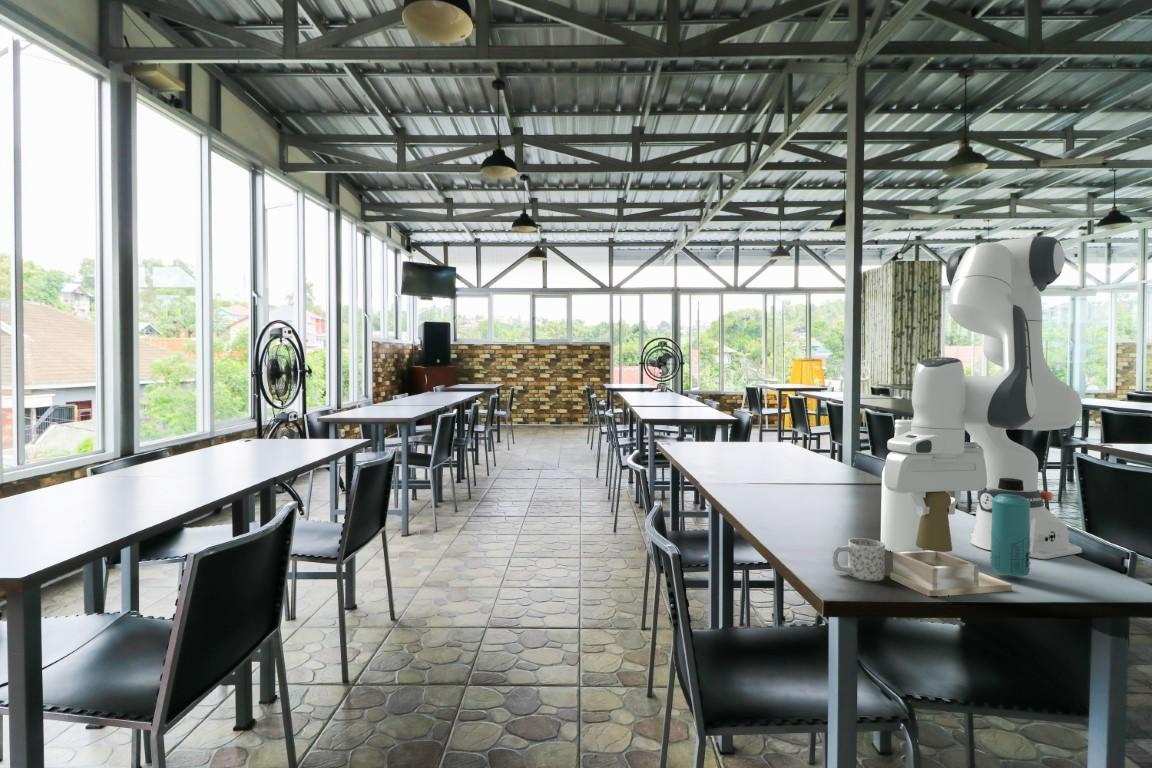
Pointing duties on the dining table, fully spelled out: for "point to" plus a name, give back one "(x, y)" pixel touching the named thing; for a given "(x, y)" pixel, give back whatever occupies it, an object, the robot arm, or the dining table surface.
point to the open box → (942, 574)
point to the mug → (862, 559)
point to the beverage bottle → (1010, 530)
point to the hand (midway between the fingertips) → (935, 514)
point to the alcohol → (899, 512)
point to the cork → (935, 524)
